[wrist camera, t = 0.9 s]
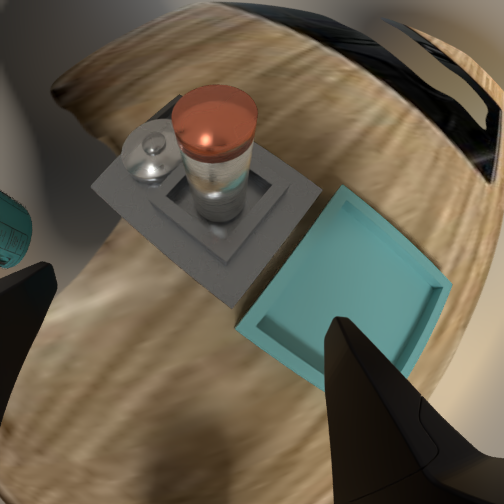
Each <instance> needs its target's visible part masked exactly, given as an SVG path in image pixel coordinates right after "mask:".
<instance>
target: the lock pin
mask: <svg viewBox="0 0 504 504" xmlns="http://www.w3.org/2000/svg"><path fill="white" fill-rule="evenodd" d="M257 115H258V112H257V107H256V104H255V102H254V101H253V99H252V98H251V97H250V96H249V95H248V94H247V93H245V92H244V91H242V90H240V89H238V88H235V87H232V86H228V85H207V86H202V87H199V88H196V89H194V90H192V91H190V92H188V93H187V94H185V95H184V96H183V97H181V98H180V99H179V101H178V102H177V103H176V105H175V106H174V108H173V111H172V116H171V119H172V125H173V129H174V132H175V136H176V140H177V144H178V148H179V151H180V155H181V159H182V162H183V166H184V170H185V173H186V177H187V180H188V184H189V187H190V191H191V194H192V198H193V201H194V204H195V207H196V210H197V211H198V213H199V214H200V215H201V216H202V217H204V218H205V219H207V220H210V221H214V222H224V221H228V220H231V219H233V218H234V217H236V216H237V215H238V214H239V213H240V212H241V210H242V208H243V206H244V203H245V197H246V190H247V183H248V176H249V170H250V163H251V156H252V149H253V142H254V136H255V129H256V123H257Z"/></svg>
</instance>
